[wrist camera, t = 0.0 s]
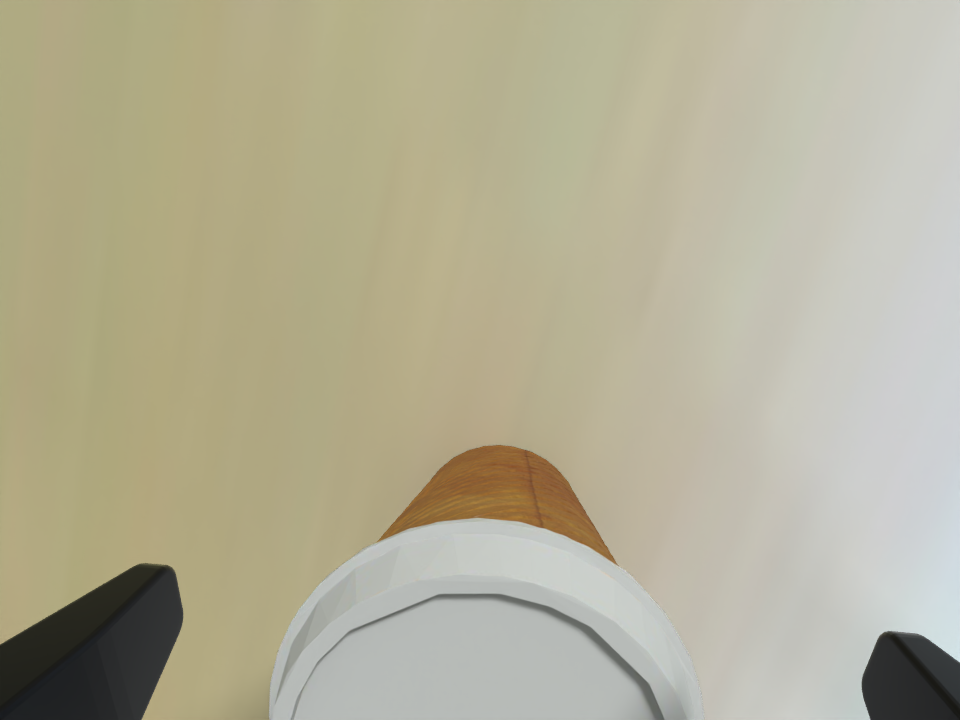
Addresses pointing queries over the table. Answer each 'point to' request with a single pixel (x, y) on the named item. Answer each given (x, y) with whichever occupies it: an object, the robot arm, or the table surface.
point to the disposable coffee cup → (485, 614)
